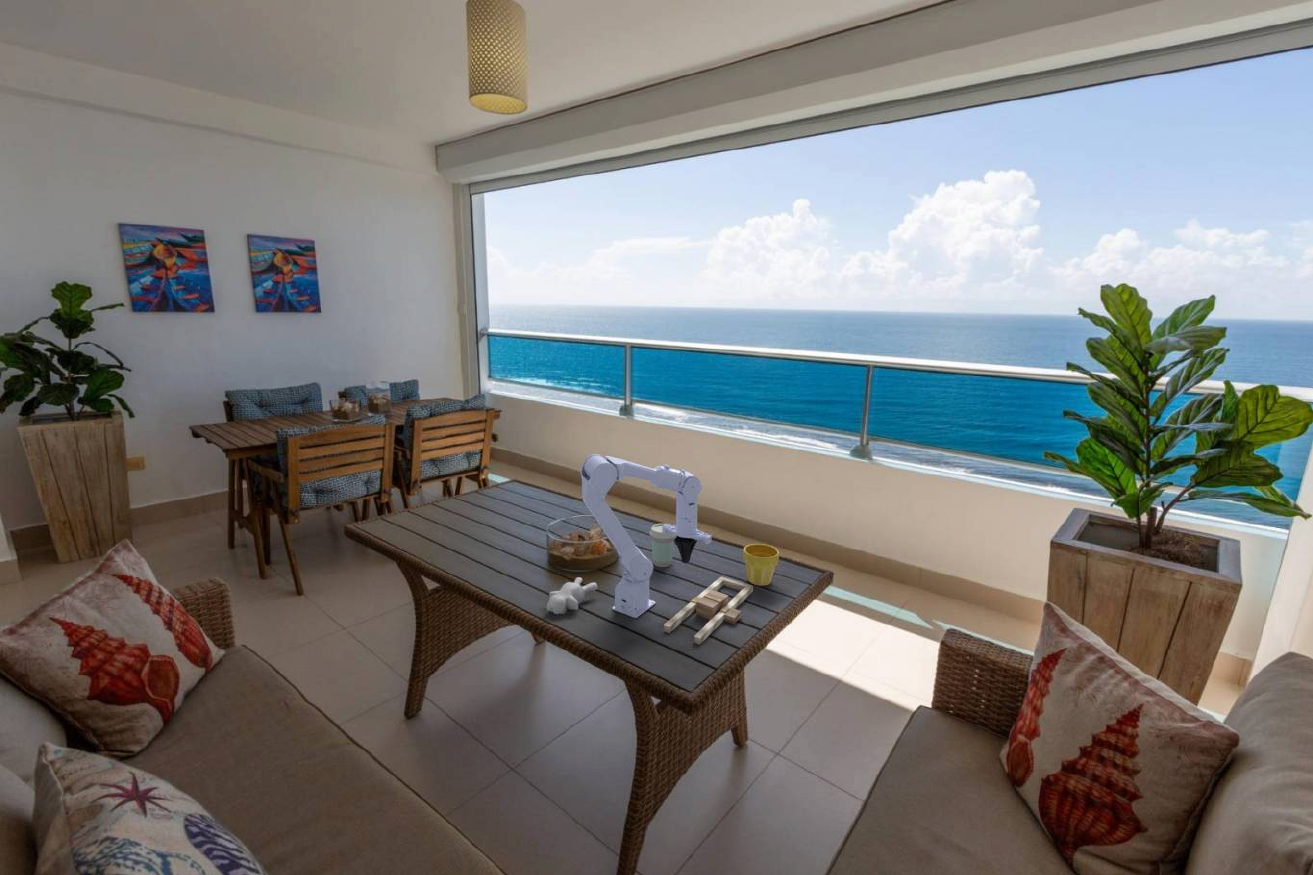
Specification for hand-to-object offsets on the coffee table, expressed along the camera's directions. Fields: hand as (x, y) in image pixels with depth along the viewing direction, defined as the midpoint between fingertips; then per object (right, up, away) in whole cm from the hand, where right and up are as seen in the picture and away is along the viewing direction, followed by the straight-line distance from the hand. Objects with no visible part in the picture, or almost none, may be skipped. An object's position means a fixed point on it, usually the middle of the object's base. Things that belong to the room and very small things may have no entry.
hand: (685, 561), depth 154 cm
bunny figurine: (-32, -11, -3) cm, 34 cm away
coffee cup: (-6, -6, +22) cm, 24 cm away
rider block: (+7, -12, -5) cm, 15 cm away
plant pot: (+23, -9, +12) cm, 27 cm away
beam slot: (+8, -12, -6) cm, 16 cm away
